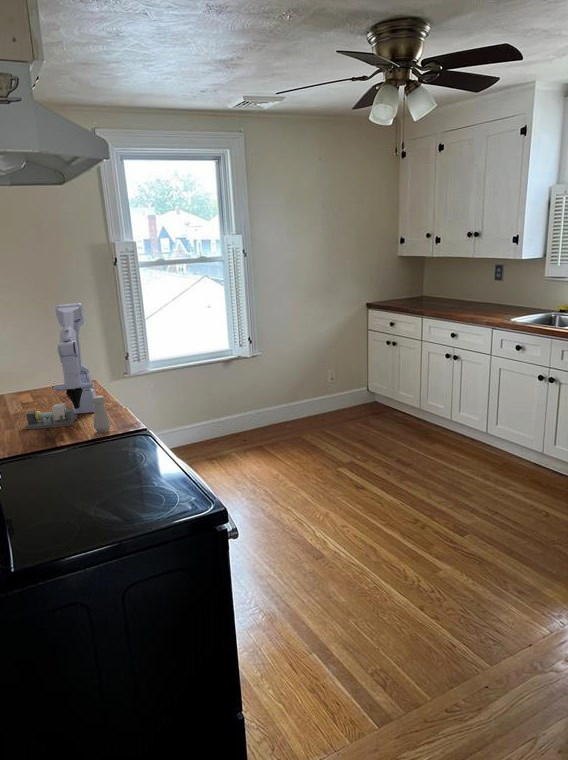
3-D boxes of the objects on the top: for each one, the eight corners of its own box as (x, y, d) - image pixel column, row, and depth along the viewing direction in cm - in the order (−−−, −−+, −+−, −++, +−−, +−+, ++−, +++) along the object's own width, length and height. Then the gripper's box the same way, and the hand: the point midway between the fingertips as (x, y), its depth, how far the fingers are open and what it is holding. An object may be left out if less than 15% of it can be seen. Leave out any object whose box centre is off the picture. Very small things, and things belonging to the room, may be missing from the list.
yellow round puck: (42, 418, 207) (40, 409, 206) (39, 421, 204) (37, 412, 203) (39, 419, 207) (37, 410, 206) (36, 421, 204) (34, 412, 203)
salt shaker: (106, 434, 190) (100, 398, 187) (91, 434, 191) (85, 398, 188) (114, 428, 195) (109, 394, 192) (100, 428, 197) (94, 394, 193)
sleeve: (68, 416, 208) (65, 403, 207) (65, 419, 205) (63, 405, 203) (57, 417, 208) (55, 404, 207) (54, 420, 204) (52, 406, 203)
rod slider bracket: (77, 417, 212) (75, 404, 211) (70, 425, 202) (68, 412, 201) (34, 421, 210) (32, 408, 209) (26, 429, 201) (23, 416, 199)
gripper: (48, 377, 198) (54, 412, 202) (89, 374, 200) (94, 409, 203) (54, 373, 205) (59, 407, 208) (93, 369, 207) (98, 403, 210)
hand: (77, 407), depth 206 cm, fingers closed
